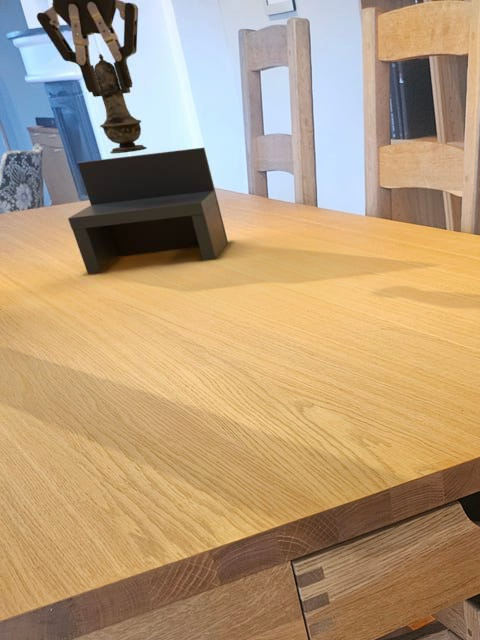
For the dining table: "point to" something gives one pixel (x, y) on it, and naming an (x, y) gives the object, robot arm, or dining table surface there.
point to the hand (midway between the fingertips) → (111, 94)
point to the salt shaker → (116, 110)
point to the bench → (148, 207)
